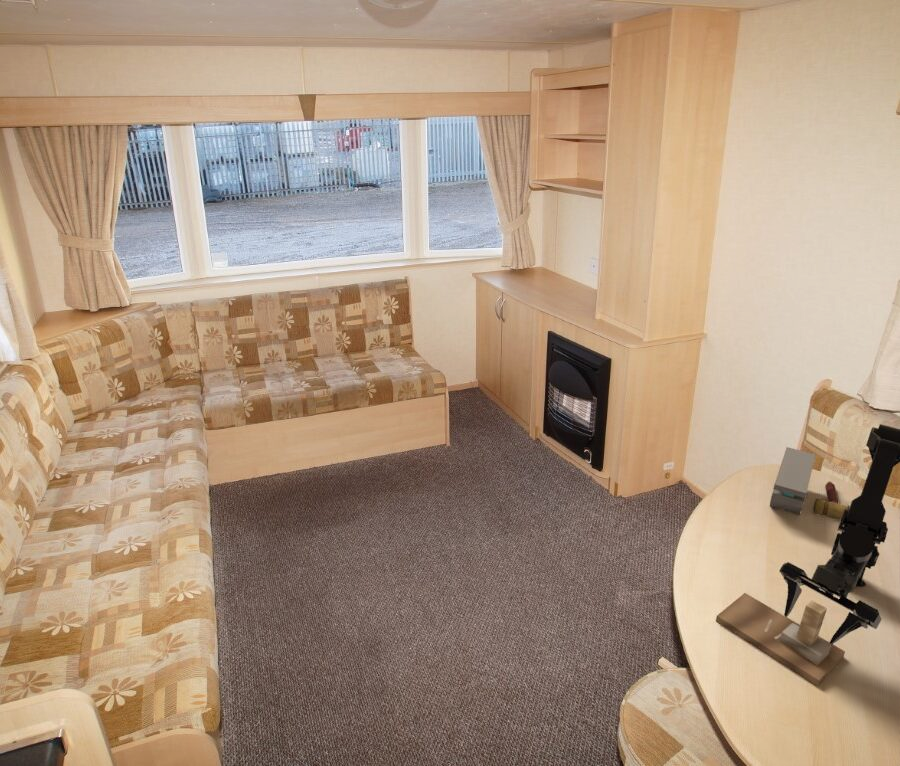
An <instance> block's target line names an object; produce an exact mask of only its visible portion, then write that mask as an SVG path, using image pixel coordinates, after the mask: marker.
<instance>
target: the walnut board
mask: <svg viewBox="0 0 900 766" xmlns="http://www.w3.org/2000/svg"><path fill="white" fill-rule="evenodd" d="M715 622H717V623H718V624H720V625H721V626H723V627H724V628H725V629H727V630H729V631H731V632H732V633H734V634H735V635H737V636H739V638H741V639H743V640H745V641H746V642H748V643H750V644H751V645H752V646H754V647H756V648H757V649H759V650H761V651H762V652H764V653H765V654H766V655H768V656H770V657H771V658H773V660H774V659H775V660H776V661H778V662H779V663H781V664H782V665H783V666H785V667H786V668H789V669H790V670H792V672H795V673H796V674H798V675H799V676H801V677H802V678H804V679H805V680H808V682H810V683H812V685H813V684H814V685H815V686H816V687H817V686H819V685H820V684H821V683H822V681H823V680H824V679H826V677H827V676H828V674H830V672H832V671H833V669H834V668H835V667H836V666H837V665H838V663H839V662H840V661H841V660H842V659H843V658H844V656H845V653H846V650H843V649H841V647H838V646H837V645H835V644H831V643H830V641H828V640H827V639H825V638H822V637H821V636H820V635H818V638H819V639H821V640H822V641H824V642H826V643H827V644H829V645H831V648H830V651H829V654H828V656H827V657H826V658H825V659H824V660H823V661H822V662H821V663H820V664H819V665H817V664H815V663H813V662H812V661H810V660H809V659H807V658H805V657H804V656H802V655H801V654H799V653H797V652H796V651H794V650H793V649H791V648H790V647H788V646H786V645H785V644H783V643H782V642H780V637H781V634H782V632H783V631H784V630H785V629H786V628H787V627H788V626H789V625H790V624H792V623H794V624H796V625H797V626H799V627H800V623H797V622H796V621H795V620H792V619H791V618H789V617H788V616H787V617H785V616H784V614H782V613H780V612H778V611H777V610H775V609H773V608H772V607H770V606H768V605H766V604H765V603H763V602H761V601H759V600H758V599H756V598H754V597H753V596H751V595H749V594H748V593H746V592H744V593H743V594H742V595H740V596H739V597H738V598H737V599H735V600H734V601H733V602H731V604H730V605H728V606H727V607H725V608H724V609H723V610H722V611H721V612H720V613H718V614H716V617H715Z"/></svg>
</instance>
